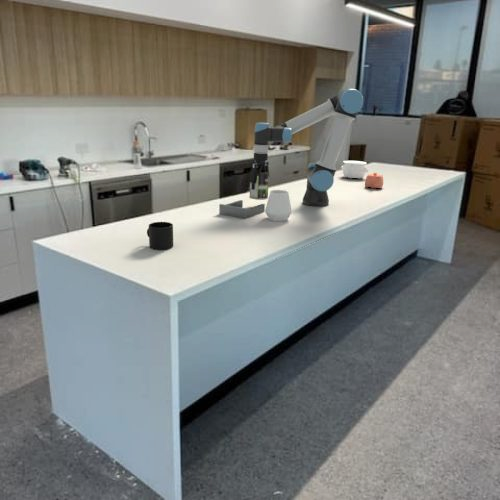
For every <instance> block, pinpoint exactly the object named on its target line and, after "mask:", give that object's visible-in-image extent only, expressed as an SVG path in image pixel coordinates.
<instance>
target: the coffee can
mask: <svg viewBox="0 0 500 500" xmlns="http://www.w3.org/2000/svg"><path fill="white" fill-rule="evenodd" d="M249 174H251V171H250V173H249ZM256 175H257V181H256V184H257V188H256V196H254V195H251V187H252V183H250V182H249V196H248V197H249V199H251V200H256V201H257V200H258V201H262V200H263V201H265V200H268V199H269V183H270V182H269V181H270V171H269V172H261V171H260V172H259V174H257V173H256ZM256 175H255V176H256Z"/></svg>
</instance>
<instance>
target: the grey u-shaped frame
mask: <svg viewBox="0 0 500 500" xmlns="http://www.w3.org/2000/svg"><path fill="white" fill-rule="evenodd" d="M243 203H244V202H243V200H242V199H239V200H236V201H233V202H230V203H227V204H223V203H220V204H219V206H218V207H219V209H218V210H219V215H222V216H227V217H232V218H238V219H247V218H252V217H254V216H256V215H259V214H261V213H264V212H265V209H266V206H265V205H266V204H265V203H260V204H258V205H254V206H252V207H249V208H246V207H243Z"/></svg>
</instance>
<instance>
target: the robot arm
mask: <svg viewBox="0 0 500 500" xmlns="http://www.w3.org/2000/svg"><path fill="white" fill-rule="evenodd" d="M363 105H364V96H363V94H362V93H361V91H359V90H358V89H355V88H345V89H342V90H341V91H339V92H337V93H336V94H335V95H332V96H331V97H330V98H328V99H327V101H326V102H324V103H322V104H320V105H318V106H315V107H314V108H311V109H309V110H308V111H306V112H303V113H301V114H299V115H297V116H295V117H293V118H291V119H289V120H287V121H285V122H283V123H281V124H279V125H276V126H274V127H273V126H271V125H270V123H269V122H256V123H255V126H254V140H253V141H254V143H253V145H254V146H253V160H254V161H255V162H254V163H251V171H250V172H251V174H250V173H249V174H250V175H249V178H248V179H249V180H248V182H249V184H250V183H252V187H251V195H254V196H256V188H257V184H256V181H257V175H256V173H257V174H259V172H260V171H261V172H269V173H270V169H269V161H268V157H269V156H268V155H269V154H268V152H269V142H271V143H272V142H273V143H275V142H276V143H284V144H285V143H291V141H292V137H293V135H294V134H296V133H297V132H300V131H302V130H305V129H306V128H308V127H311V126H313V125H314V124H317V123H319V122H321V121H322V120H326V118H328V117H331V116H335V117H334V119H333V123H332V126H331V128H330V130H329V134H328V136H327V139H326V142H325V145H324V147H323V151H322V153H321V155H320V159H319V160H318V161H316V162H315V163H309V164H308V166H307V173H306V174H307V176H306V189H305V193H304V194H303V197H302V204H304V205H306V206H312V207H325V206H328V205H329V204H330V203H329V202H330V199H329V195H328V191H329V190H330V189H331V188H332V187H333V184H334V179H335V178H334V177H335V174H336V171H337V168H336V163H337V160H338V158H339V155H340V153H341V150H342V148H343V145H344V143H345V139H346V136H347V134H348V131H349V128H350V126H351V124H352V122H353V121H355V120H356V118H357V115H358V113H359V111H360V110H361V109H362V107H363ZM255 175H256V176H255Z"/></svg>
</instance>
